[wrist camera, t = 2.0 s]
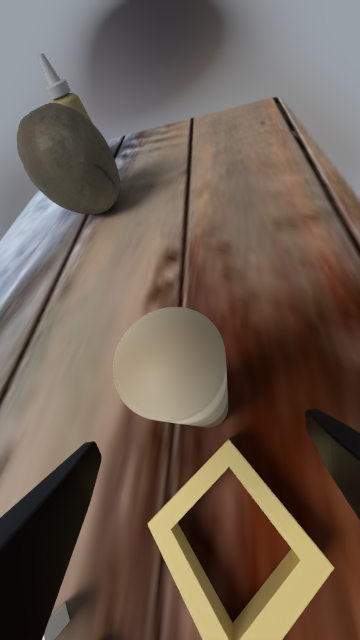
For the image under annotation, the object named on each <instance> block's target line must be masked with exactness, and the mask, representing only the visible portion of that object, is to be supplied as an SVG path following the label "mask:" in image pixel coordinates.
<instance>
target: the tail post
mask: <svg viewBox="0 0 360 640" xmlns="http://www.w3.org/2000/svg"><path fill="white" fill-rule="evenodd" d="M113 378H114V383H115V386H116V389H117V392H118V394H119V396H120V397H121V399H122V400H123V402H124V403H125V404H126V405H127V406H128V407H129V408H130V409H131V410H132V411H134V412H135V413H137V414H139V415H141V416H142V417H145V418H148V419H152V420H157V421H165V422H172V423H179V424H187V425H194V426H201V427H215V426H218V425H219V424H221V423H222V422H223V421H224V420H225V418H226V416H227V413H228V391H227V373H226V355H225V347H224V343H223V340H222V337H221V335H220V333H219V331H218V330H217V328H216V327H215V326H214V324H213V323H212V322H211V321H210V320H209V319H208V318H206V317H205V316H204V315H202V314H200V313H198V312H196V311H194V310H191V309H187V308H182V307H168V308H162V309H159V310H155V311H153V312H151V313H148V314H146V315H145V316H143V317H141V318H140V319H139V320H137V321H136V322H135V323H134V324H133V325H132V326H131V327H130V328H129V329H128V330H127V331H126V333H125V334H124V335H123V337H122V339H121V340H120V342H119V345H118V347H117V349H116V352H115V356H114V361H113Z"/></svg>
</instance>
